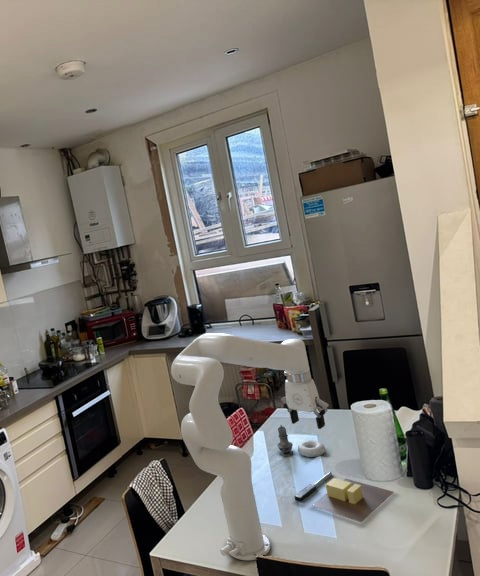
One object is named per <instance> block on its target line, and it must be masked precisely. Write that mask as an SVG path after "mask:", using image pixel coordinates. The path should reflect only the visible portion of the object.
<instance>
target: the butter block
mask: <svg viewBox="0 0 480 576" xmlns="http://www.w3.org/2000/svg"><path fill="white" fill-rule="evenodd" d="M351 487H352V483H351V482H347V481H344V479H341V478H336V477H333V478H332V479H330V481H328V482H327V483H325V488H326V494H328V496H330V497H333V498H337V499H340V500H343V501H346V500H347V499H348V494H347V490H348V489H349V488H351Z"/></svg>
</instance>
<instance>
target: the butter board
mask: <svg viewBox="0 0 480 576" xmlns="http://www.w3.org/2000/svg"><path fill="white" fill-rule="evenodd" d="M343 480H344V481H347V482H351V483H352V486H353V485H354V484H358V485H361V487H362V492H363V498H362V499H361V500H360V501H358V502H357V503H356V504H352V503H349V499H347V500H346V501H343V500H340V499H337V498H333V497H330V496H328V494H327V493H325V494H324V495H323V496H322V497H321V498H320V499H318V500H317V501H316V502H315V503H313V504H312V505H311V506H312V507H314V508H317V509H321V510H323V511H326V512H329V513H332V514H334V515H338V516H341V517H344V518H347V519H349V520H352V521H355V522H358V523H363V522H364V521H365V520H366V518H368V517H369V516H370V515H371V514H372V513H373V512H374V511H376V509H377V508H379V507H380V506H381V505H382V504H383V503H384V502H386V500H387V499H388V498H389V497H390V496H391V495H392V494H393V493H394V491H392V490H388V489H386V488H382V487H378V486H375V485H371V484H368V483H363V482H360V481H356V480H353V479H348V478H344V479H343Z"/></svg>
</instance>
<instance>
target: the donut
mask: <svg viewBox="0 0 480 576" xmlns="http://www.w3.org/2000/svg"><path fill="white" fill-rule="evenodd" d="M325 451H326V447H325V445H324V443H322V442H321V441H318V440H314V439H313V440H305V441H302V442H300V443H299V444H298V445H297V452H298V453H299V454H300V456H303V457H307V458H315V457H319V456H321V455H323V454H324V453H325Z"/></svg>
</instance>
